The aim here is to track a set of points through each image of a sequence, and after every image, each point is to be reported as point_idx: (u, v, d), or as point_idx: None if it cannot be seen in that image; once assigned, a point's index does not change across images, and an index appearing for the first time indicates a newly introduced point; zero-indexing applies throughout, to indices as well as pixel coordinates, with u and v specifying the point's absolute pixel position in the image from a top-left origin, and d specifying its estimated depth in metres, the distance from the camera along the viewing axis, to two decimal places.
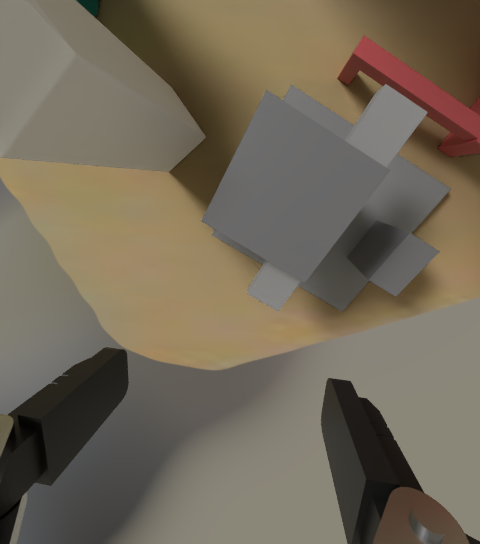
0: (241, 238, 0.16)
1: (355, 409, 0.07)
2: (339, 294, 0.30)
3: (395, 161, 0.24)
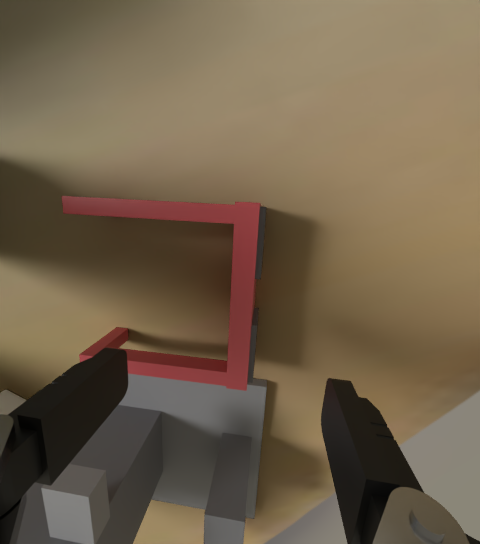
0: None
1: (355, 409, 0.07)
2: None
3: (201, 384, 0.24)
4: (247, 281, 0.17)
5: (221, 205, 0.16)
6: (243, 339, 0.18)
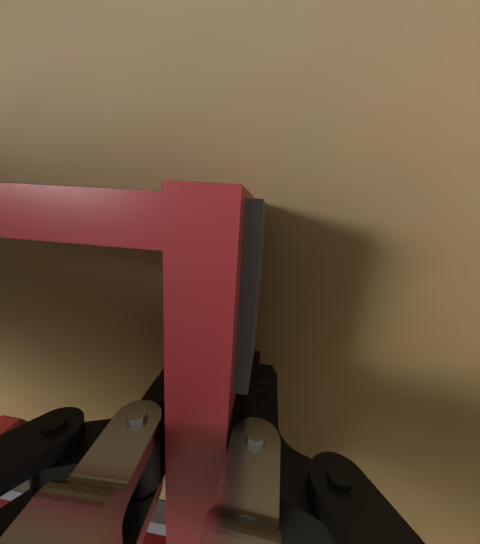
0: None
1: None
2: None
3: None
4: (207, 411, 0.06)
5: (120, 193, 0.05)
6: None
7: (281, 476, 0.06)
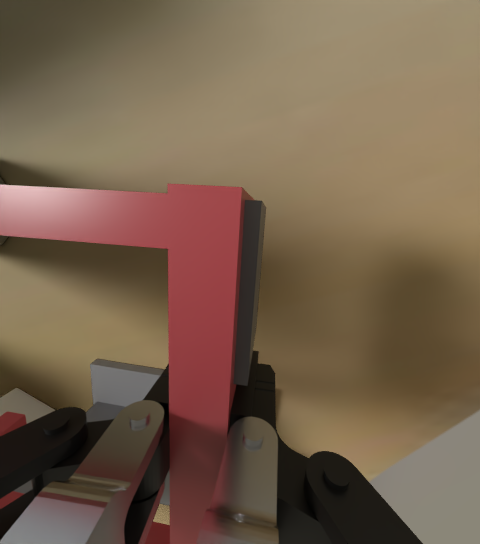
0: None
1: None
2: None
3: None
4: (209, 400, 0.06)
5: (129, 195, 0.05)
6: None
7: (278, 475, 0.06)
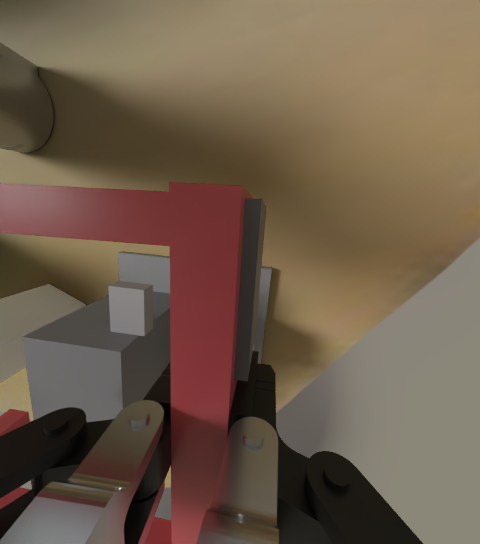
0: None
1: None
2: None
3: None
4: (210, 394, 0.06)
5: (132, 193, 0.05)
6: None
7: (278, 476, 0.06)
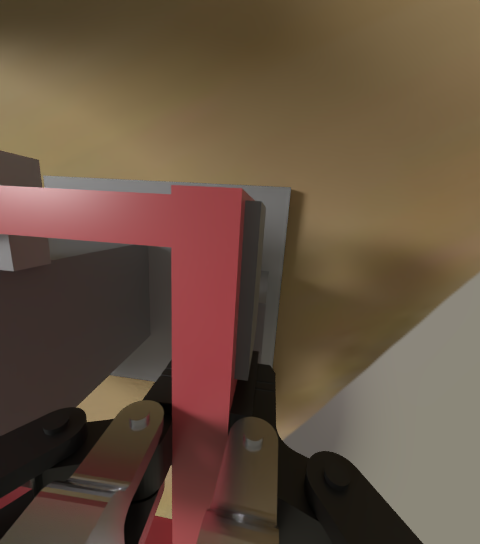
0: None
1: None
2: None
3: None
4: (211, 394, 0.06)
5: (134, 195, 0.06)
6: None
7: (278, 475, 0.06)
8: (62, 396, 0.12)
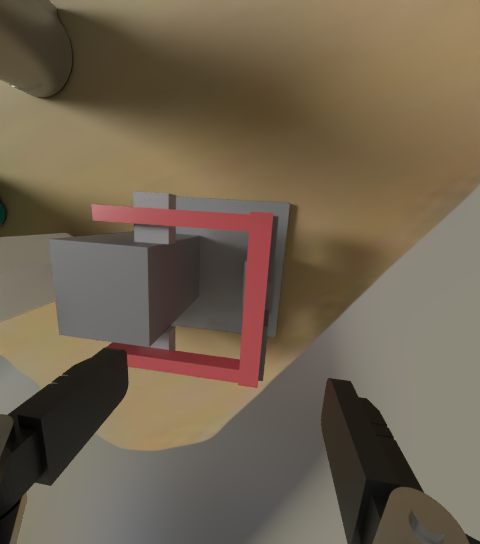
0: (89, 334, 0.20)
1: (355, 409, 0.07)
2: None
3: (235, 205, 0.29)
4: (260, 284, 0.18)
5: (237, 214, 0.17)
6: (255, 339, 0.19)
7: None
8: (171, 312, 0.23)
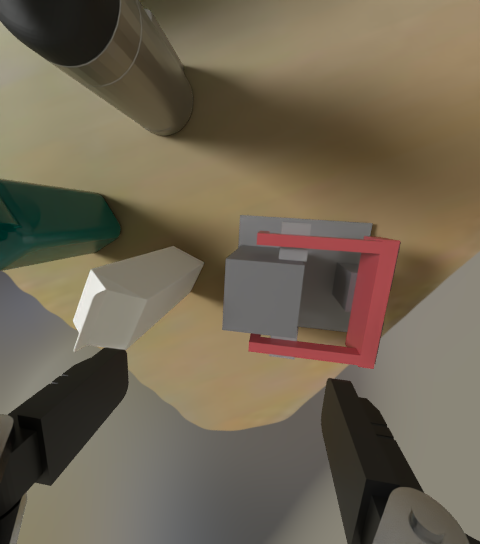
0: (247, 329, 0.26)
1: (355, 409, 0.07)
2: (342, 321, 0.38)
3: (326, 224, 0.35)
4: (384, 291, 0.25)
5: (372, 241, 0.24)
6: (376, 332, 0.26)
7: None
8: None
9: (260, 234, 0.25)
